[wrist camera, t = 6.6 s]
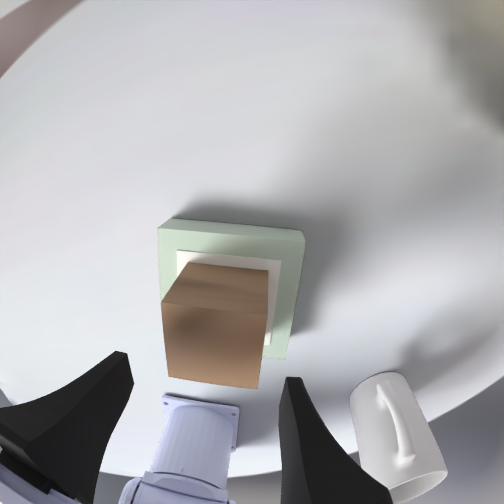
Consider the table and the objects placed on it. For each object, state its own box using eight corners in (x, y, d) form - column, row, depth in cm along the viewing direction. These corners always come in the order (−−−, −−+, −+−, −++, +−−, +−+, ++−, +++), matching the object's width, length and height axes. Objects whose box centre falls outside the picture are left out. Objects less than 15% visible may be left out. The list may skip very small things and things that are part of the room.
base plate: (283, 339, 22) (285, 360, 20) (173, 326, 23) (164, 345, 20) (301, 230, 19) (305, 242, 17) (170, 218, 19) (156, 228, 17)
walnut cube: (260, 336, 19) (257, 388, 15) (188, 327, 19) (168, 376, 15) (268, 270, 18) (267, 315, 13) (187, 262, 18) (160, 302, 13)
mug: (407, 400, 25) (440, 487, 14) (350, 419, 26) (368, 513, 15) (407, 334, 22) (464, 440, 11) (336, 359, 23) (363, 480, 12)
